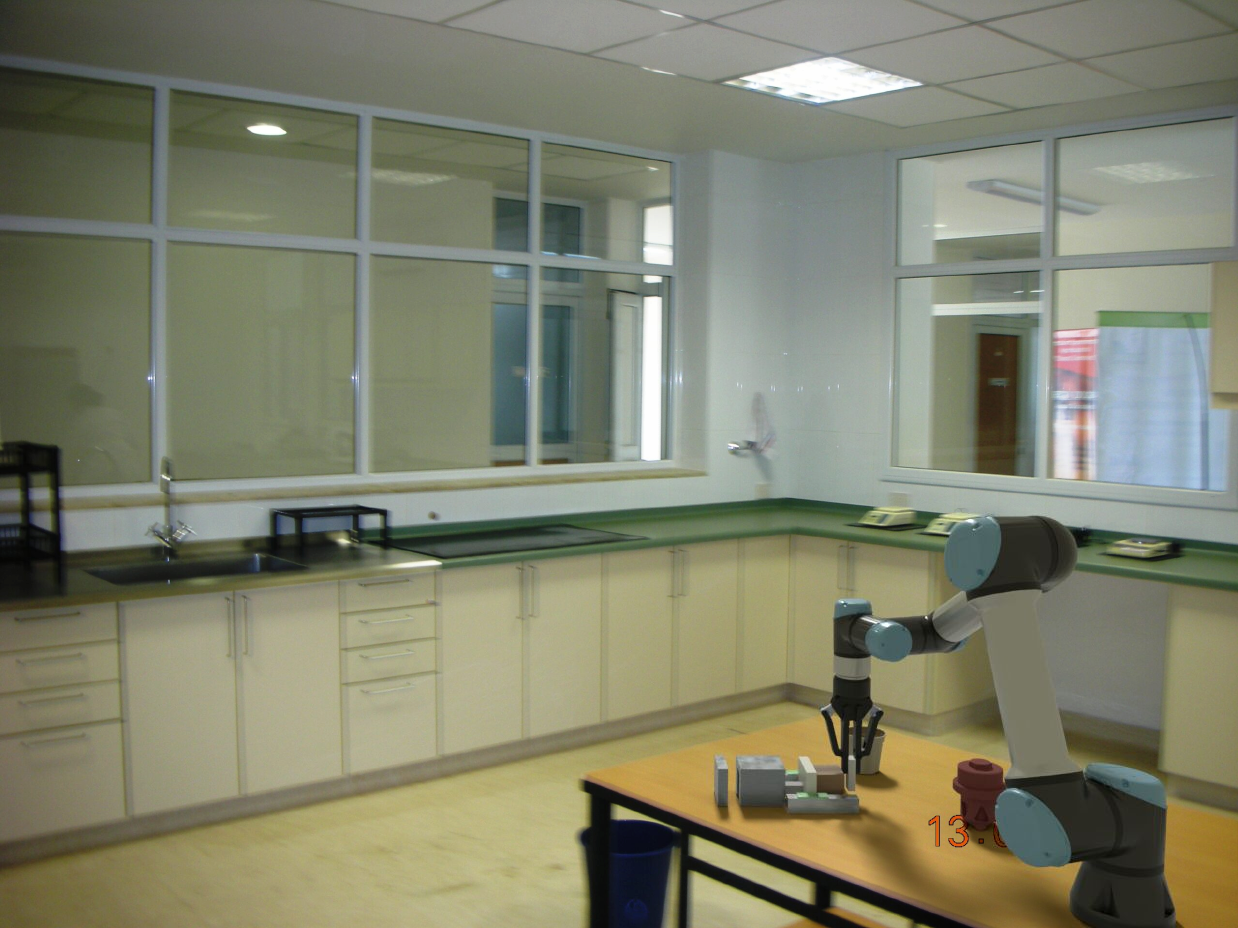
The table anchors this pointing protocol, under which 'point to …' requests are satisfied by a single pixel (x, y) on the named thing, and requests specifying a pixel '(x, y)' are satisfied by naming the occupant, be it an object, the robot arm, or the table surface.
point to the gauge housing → (775, 787)
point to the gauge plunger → (803, 778)
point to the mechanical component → (978, 791)
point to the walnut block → (829, 779)
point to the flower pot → (873, 760)
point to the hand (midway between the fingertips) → (850, 788)
